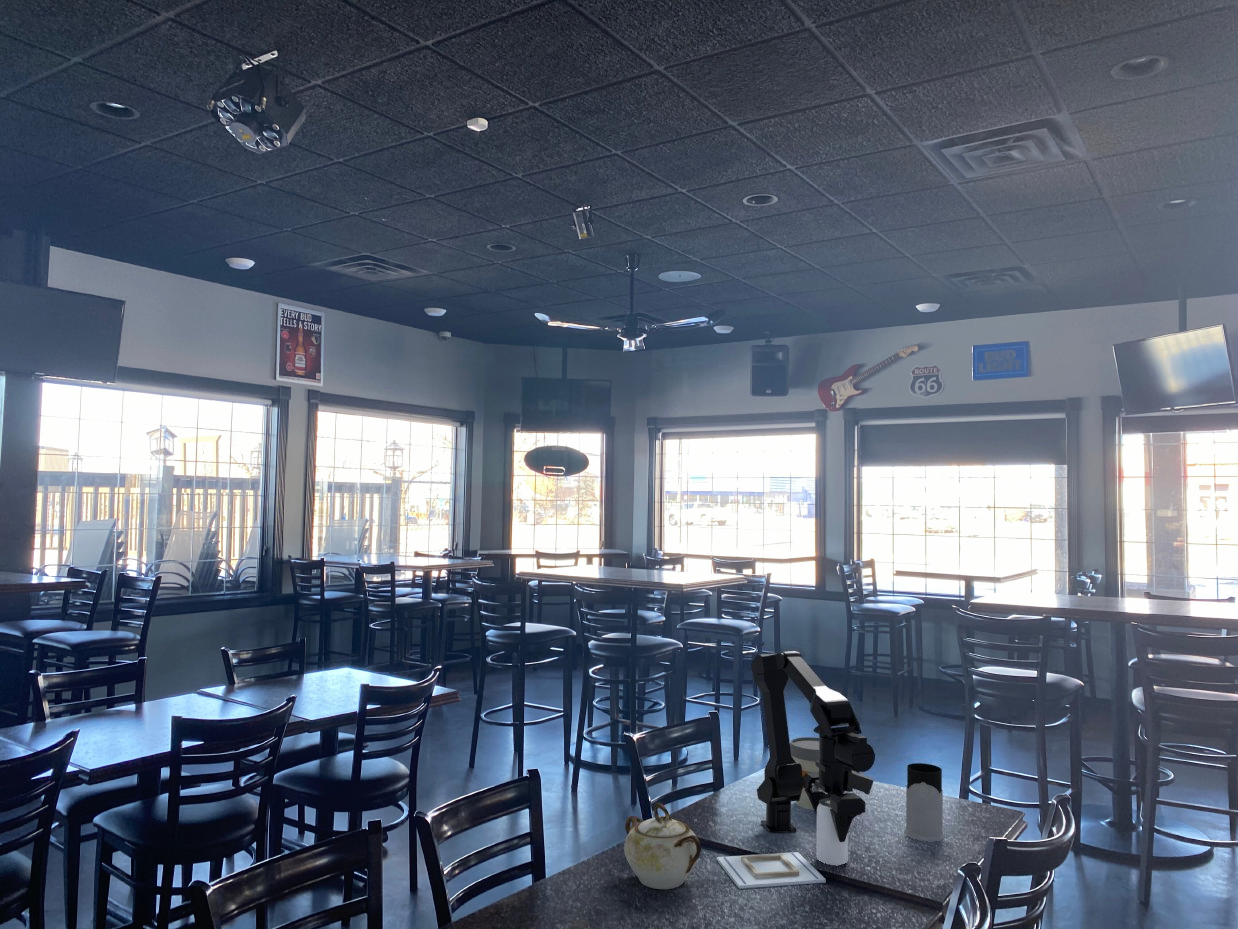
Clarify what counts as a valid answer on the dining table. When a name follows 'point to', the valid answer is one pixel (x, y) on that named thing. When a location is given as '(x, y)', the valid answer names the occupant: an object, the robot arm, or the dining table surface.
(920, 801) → the glass holder
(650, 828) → the sugar bowl
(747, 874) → the grey flat tray
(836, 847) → the can
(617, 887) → the dining table surface
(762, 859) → the seat frame
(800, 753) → the reusable coffee cup
